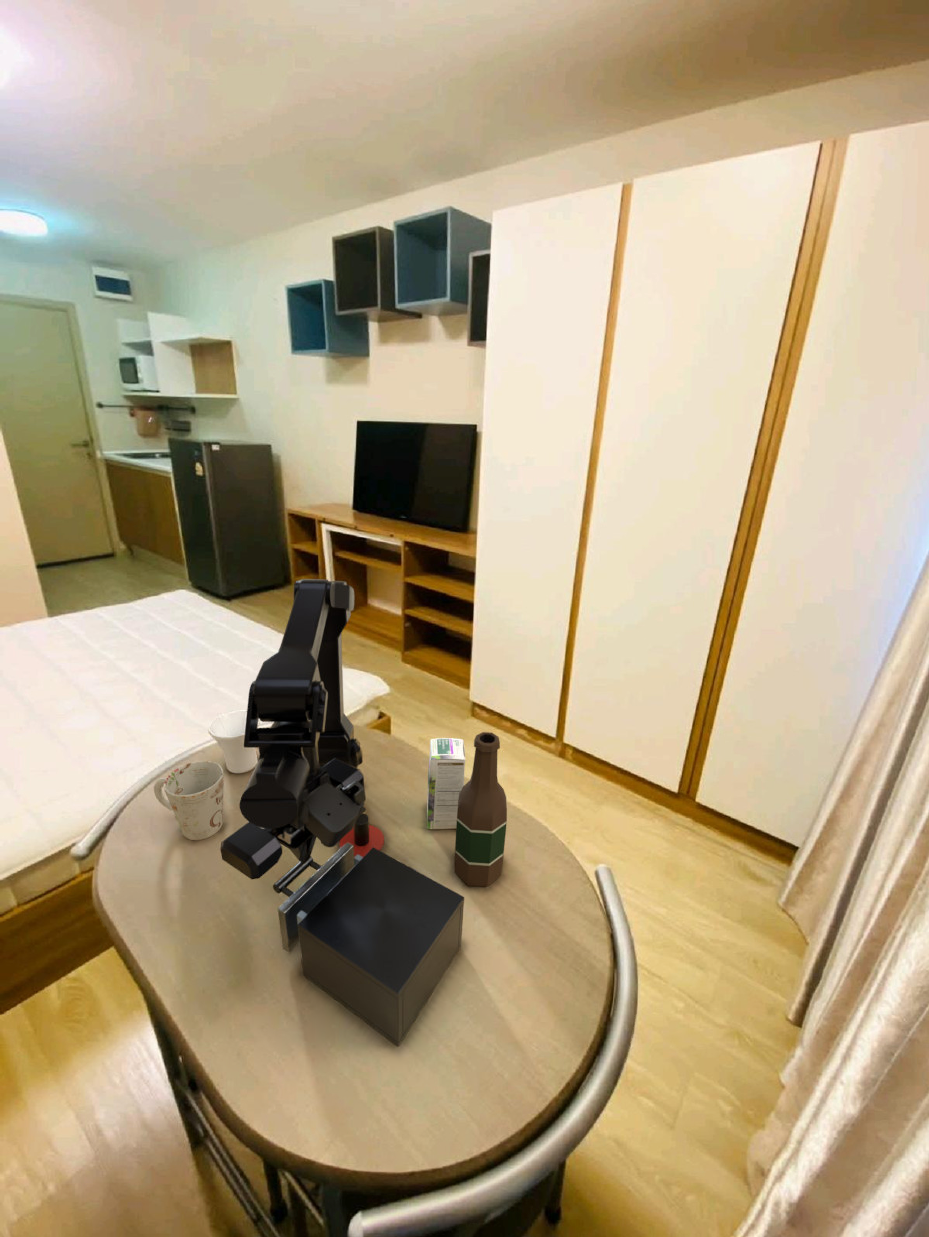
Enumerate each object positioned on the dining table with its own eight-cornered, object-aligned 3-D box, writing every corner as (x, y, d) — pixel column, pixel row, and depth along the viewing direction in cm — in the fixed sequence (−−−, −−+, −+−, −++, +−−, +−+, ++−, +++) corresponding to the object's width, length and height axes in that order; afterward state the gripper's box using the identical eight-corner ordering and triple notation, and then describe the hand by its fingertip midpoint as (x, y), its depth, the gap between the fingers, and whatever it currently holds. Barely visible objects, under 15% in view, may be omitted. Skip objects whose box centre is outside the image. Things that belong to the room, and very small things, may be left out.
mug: (209, 850, 81) (199, 800, 77) (139, 835, 83) (126, 785, 79) (241, 813, 88) (233, 765, 84) (176, 800, 90) (166, 752, 87)
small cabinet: (303, 975, 64) (297, 924, 60) (374, 894, 75) (373, 846, 71) (398, 1047, 57) (398, 994, 54) (461, 946, 68) (464, 897, 65)
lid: (359, 821, 88) (358, 797, 86) (392, 838, 85) (392, 814, 83) (330, 848, 82) (328, 823, 80) (364, 868, 79) (363, 843, 77)
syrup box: (426, 805, 92) (428, 737, 86) (459, 805, 92) (463, 737, 87) (427, 830, 87) (428, 759, 81) (462, 829, 87) (466, 758, 82)
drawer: (256, 929, 68) (250, 889, 65) (324, 864, 78) (321, 827, 75) (364, 1009, 60) (362, 967, 57) (425, 925, 70) (426, 886, 67)
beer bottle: (510, 858, 82) (523, 731, 73) (491, 897, 75) (503, 762, 66) (465, 841, 85) (473, 716, 76) (443, 876, 78) (449, 744, 69)
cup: (246, 745, 105) (240, 702, 101) (275, 763, 100) (270, 720, 97) (204, 767, 99) (196, 722, 95) (232, 788, 94) (225, 742, 90)
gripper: (279, 844, 52) (292, 950, 58) (395, 748, 67) (395, 840, 73) (208, 801, 57) (227, 902, 63) (330, 720, 72) (336, 809, 78)
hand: (304, 860), depth 69 cm, fingers closed
